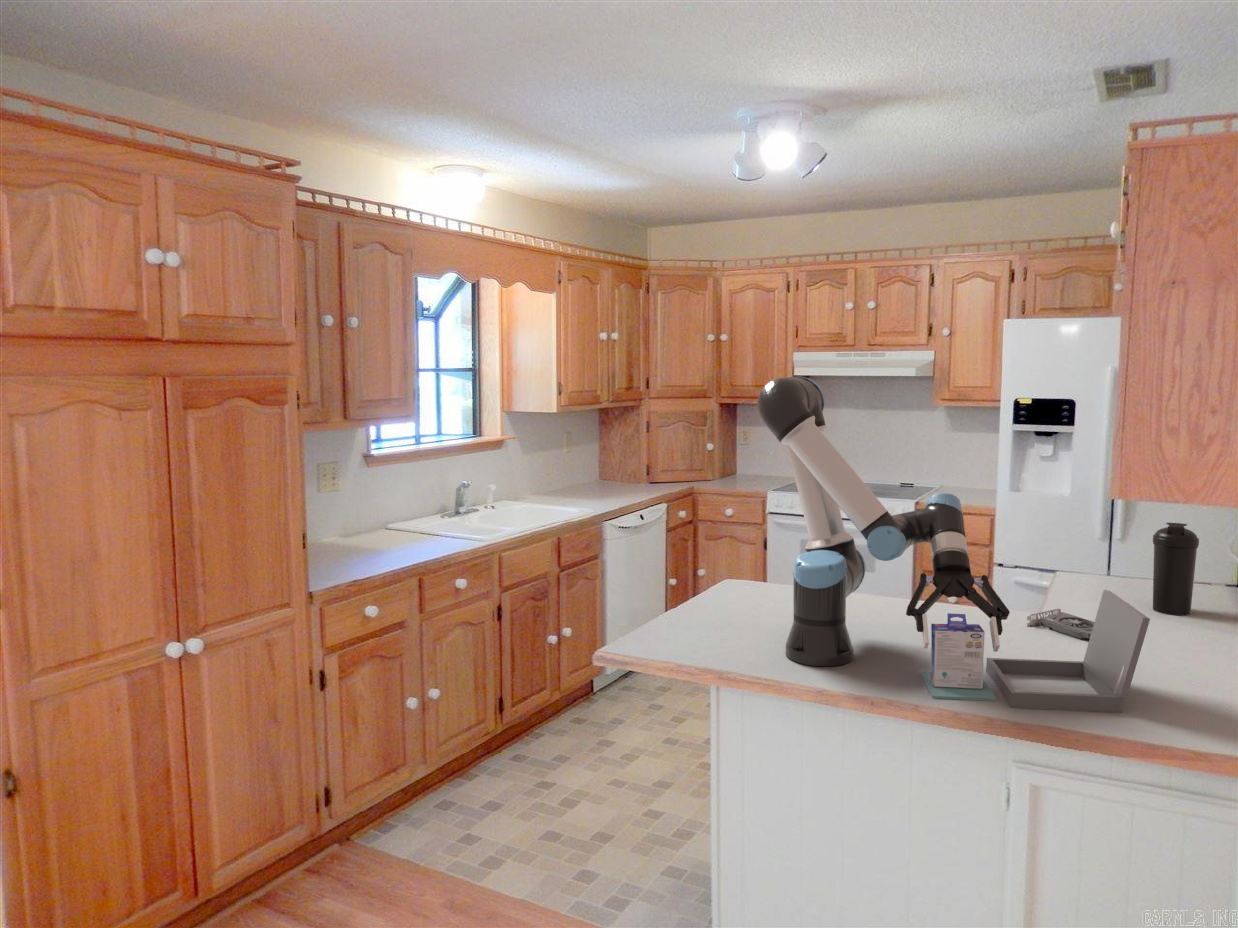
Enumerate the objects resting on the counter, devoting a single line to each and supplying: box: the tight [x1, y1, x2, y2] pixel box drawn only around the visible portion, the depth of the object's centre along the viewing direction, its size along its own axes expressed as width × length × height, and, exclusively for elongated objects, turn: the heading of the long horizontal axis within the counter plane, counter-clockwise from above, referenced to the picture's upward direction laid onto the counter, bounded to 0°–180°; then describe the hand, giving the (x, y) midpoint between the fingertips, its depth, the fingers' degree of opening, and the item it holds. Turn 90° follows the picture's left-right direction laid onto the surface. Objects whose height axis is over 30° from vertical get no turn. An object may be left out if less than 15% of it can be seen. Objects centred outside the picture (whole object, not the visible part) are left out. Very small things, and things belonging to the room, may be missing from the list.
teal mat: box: [920, 670, 997, 702], centre depth 183 cm, size 12×14×1 cm
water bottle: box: [1152, 522, 1200, 616], centre depth 231 cm, size 10×10×23 cm
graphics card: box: [1026, 607, 1095, 640], centre depth 217 cm, size 17×4×12 cm
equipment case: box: [985, 589, 1151, 714], centre depth 178 cm, size 24×20×19 cm
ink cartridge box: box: [930, 612, 985, 689], centre depth 182 cm, size 10×6×14 cm, turn 80°
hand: (961, 647), depth 180 cm, fingers open, 13 cm apart
